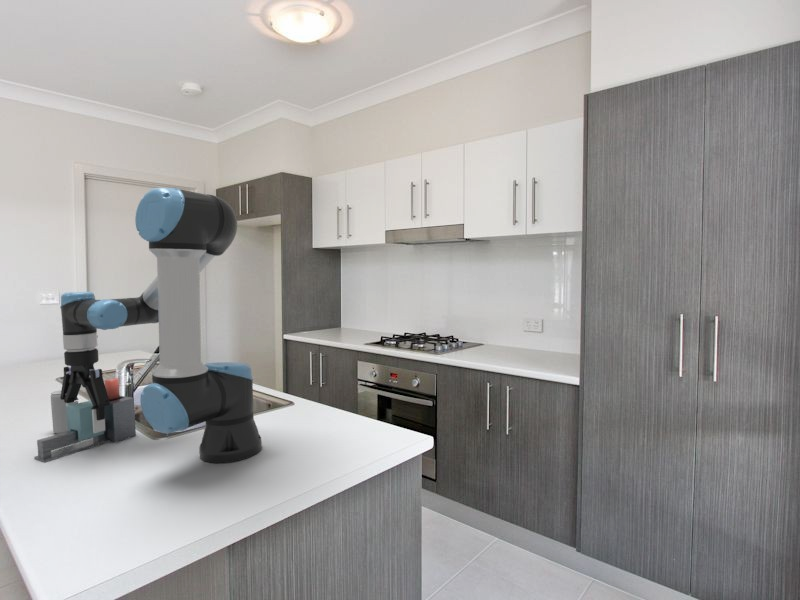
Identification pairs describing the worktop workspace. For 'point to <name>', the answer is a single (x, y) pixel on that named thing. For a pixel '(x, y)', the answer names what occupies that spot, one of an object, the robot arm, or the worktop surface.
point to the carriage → (81, 420)
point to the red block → (112, 388)
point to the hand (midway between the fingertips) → (86, 428)
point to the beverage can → (58, 413)
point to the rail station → (116, 429)
